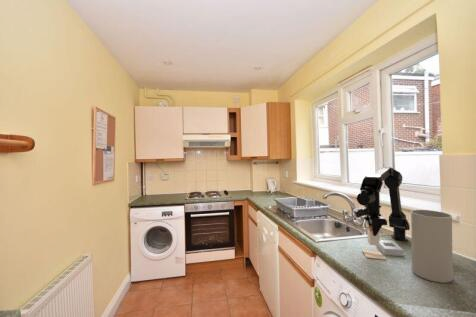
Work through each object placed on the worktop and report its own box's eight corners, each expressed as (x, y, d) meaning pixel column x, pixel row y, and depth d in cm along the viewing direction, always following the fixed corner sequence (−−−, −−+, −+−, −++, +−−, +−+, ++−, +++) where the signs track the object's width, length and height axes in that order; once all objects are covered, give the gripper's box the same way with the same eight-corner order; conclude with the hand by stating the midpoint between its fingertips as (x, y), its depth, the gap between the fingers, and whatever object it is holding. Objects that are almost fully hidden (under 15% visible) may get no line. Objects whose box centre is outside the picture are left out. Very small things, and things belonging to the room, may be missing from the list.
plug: (367, 241, 113) (367, 225, 112) (376, 242, 112) (376, 226, 111) (370, 244, 109) (369, 228, 109) (379, 245, 108) (379, 228, 108)
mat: (362, 251, 115) (362, 250, 115) (379, 252, 113) (379, 251, 113) (366, 258, 107) (366, 257, 107) (385, 259, 105) (385, 258, 105)
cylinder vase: (442, 270, 95) (442, 210, 95) (460, 286, 84) (459, 218, 83) (407, 265, 100) (406, 209, 99) (419, 280, 88) (418, 216, 87)
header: (376, 245, 122) (376, 239, 122) (393, 246, 120) (393, 240, 120) (384, 254, 111) (384, 248, 111) (403, 256, 109) (403, 249, 109)
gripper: (350, 198, 121) (350, 227, 121) (359, 205, 103) (360, 240, 103) (373, 198, 118) (373, 228, 118) (387, 206, 100) (388, 241, 100)
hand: (373, 234), depth 110 cm, fingers closed on plug, 4 cm apart
